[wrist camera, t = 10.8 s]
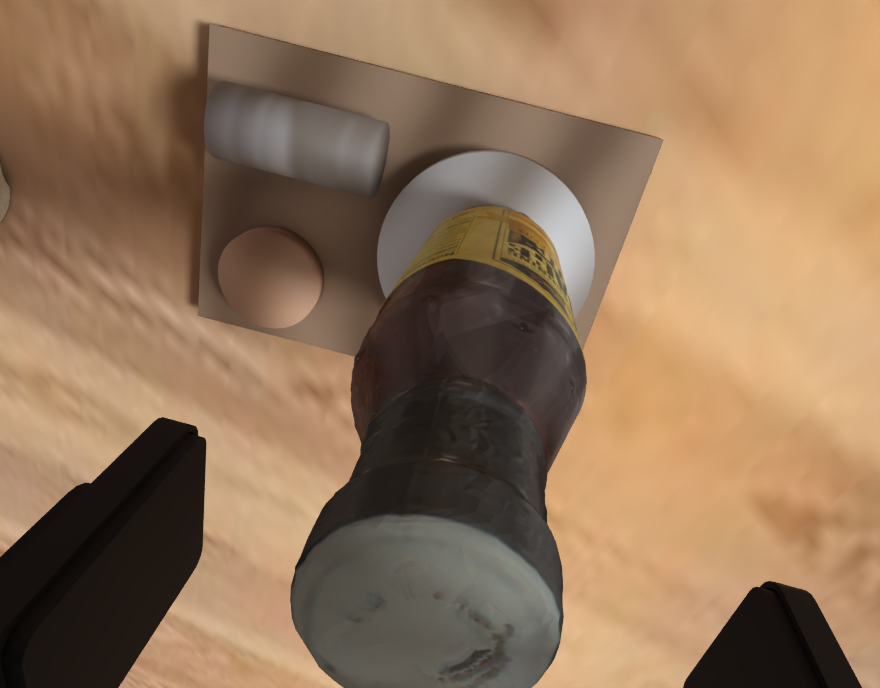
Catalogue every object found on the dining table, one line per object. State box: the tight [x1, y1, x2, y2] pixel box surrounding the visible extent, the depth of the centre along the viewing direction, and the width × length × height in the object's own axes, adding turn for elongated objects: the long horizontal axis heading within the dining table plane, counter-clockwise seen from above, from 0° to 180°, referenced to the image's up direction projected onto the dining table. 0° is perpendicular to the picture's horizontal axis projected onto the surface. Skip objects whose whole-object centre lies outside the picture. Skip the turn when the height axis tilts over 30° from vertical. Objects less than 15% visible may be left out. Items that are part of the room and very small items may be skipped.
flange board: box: [198, 24, 663, 356], centre depth 26 cm, size 20×14×4 cm
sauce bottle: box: [290, 206, 587, 688], centre depth 17 cm, size 7×6×20 cm
